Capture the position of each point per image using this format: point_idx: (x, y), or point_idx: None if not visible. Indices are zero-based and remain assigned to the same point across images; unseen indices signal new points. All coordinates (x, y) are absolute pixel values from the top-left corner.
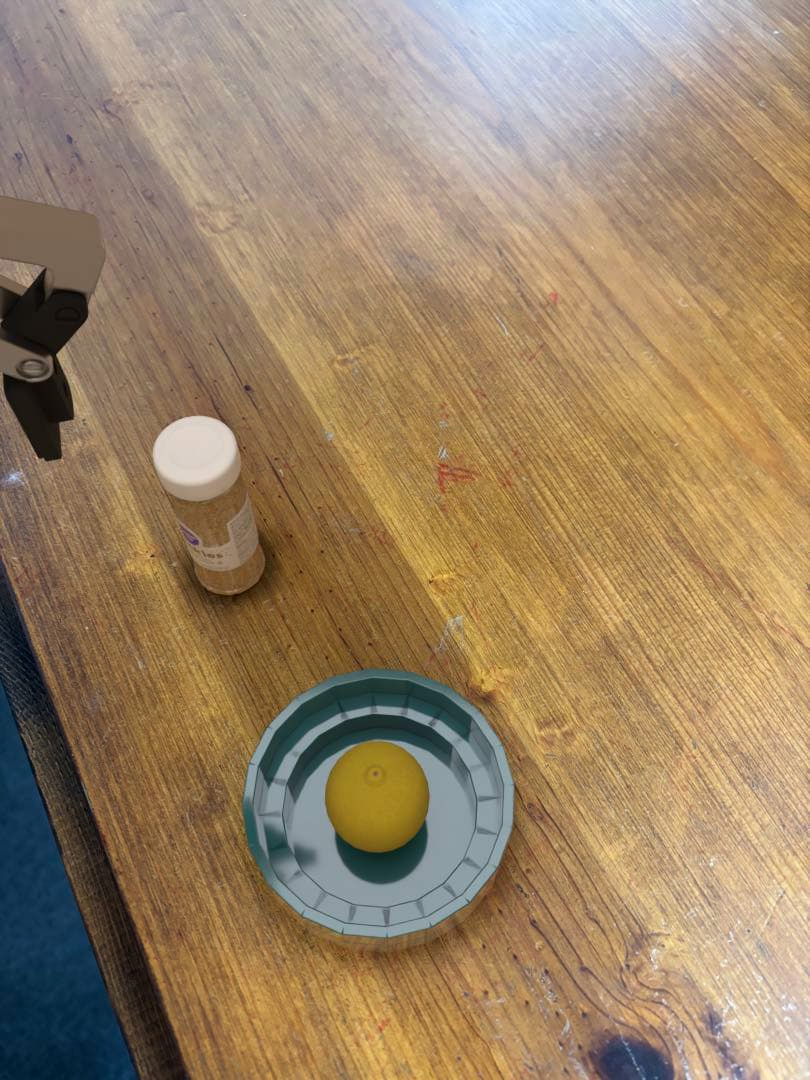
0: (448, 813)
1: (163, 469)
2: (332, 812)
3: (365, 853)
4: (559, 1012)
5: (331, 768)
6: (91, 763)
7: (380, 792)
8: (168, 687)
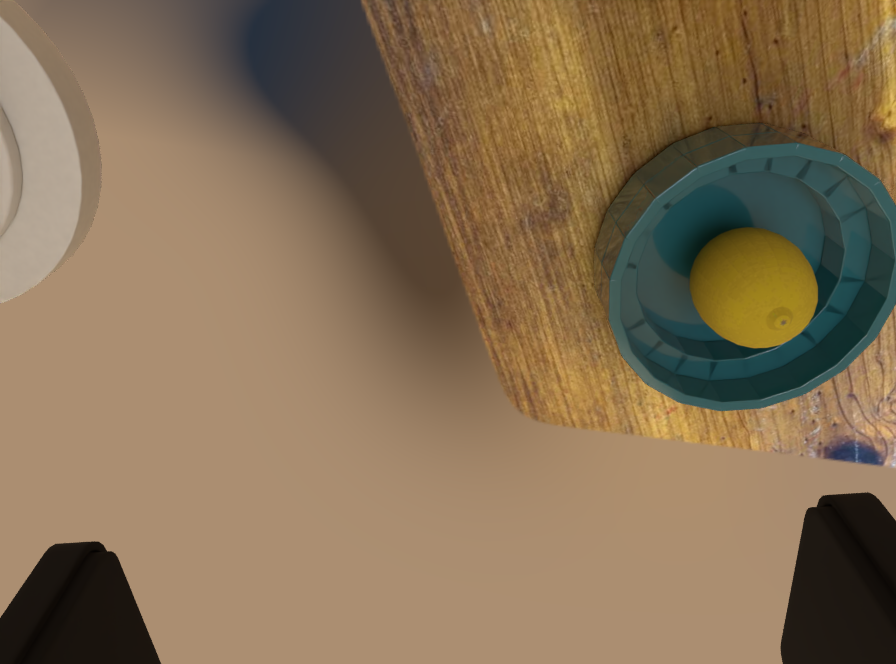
0: None
1: None
2: (708, 315)
3: None
4: (815, 420)
5: (689, 200)
6: (425, 148)
7: (778, 334)
8: (517, 65)
